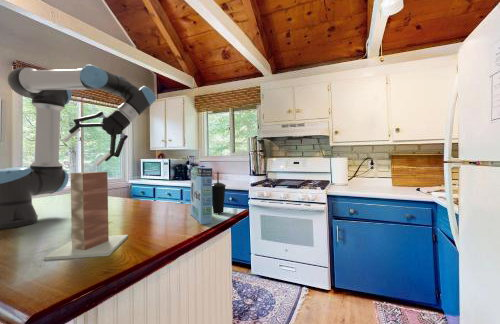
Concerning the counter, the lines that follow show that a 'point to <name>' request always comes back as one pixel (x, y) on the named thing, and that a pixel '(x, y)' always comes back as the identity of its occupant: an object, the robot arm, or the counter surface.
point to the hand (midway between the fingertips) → (80, 153)
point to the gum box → (201, 194)
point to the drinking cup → (218, 196)
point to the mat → (96, 251)
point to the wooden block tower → (89, 209)
